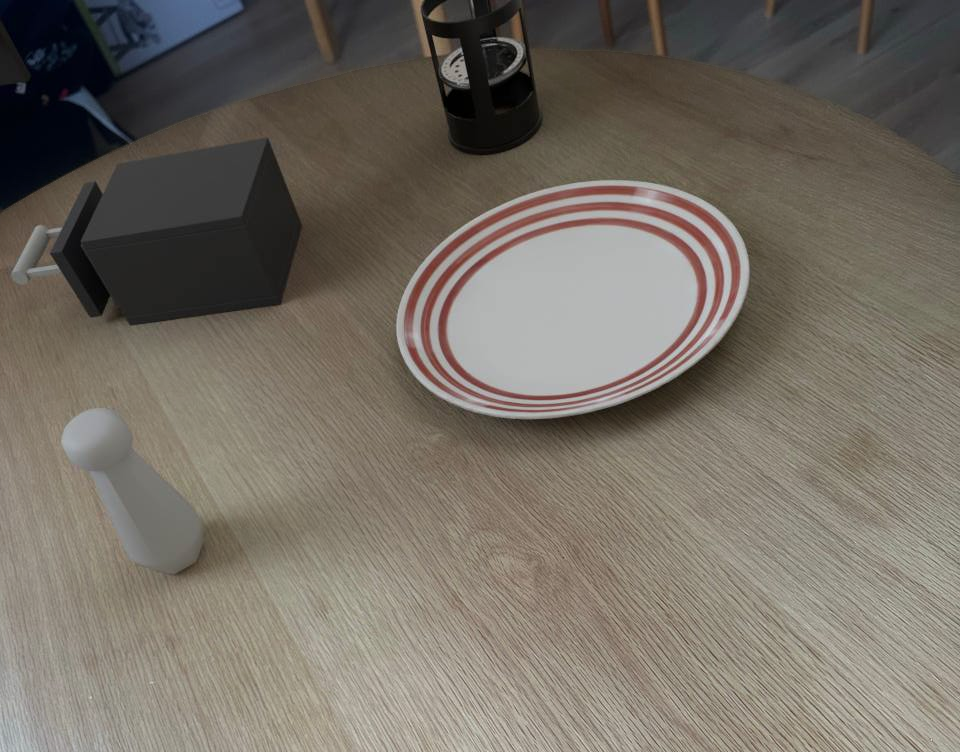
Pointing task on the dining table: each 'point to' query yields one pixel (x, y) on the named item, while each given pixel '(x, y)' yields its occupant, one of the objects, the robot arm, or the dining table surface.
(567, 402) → the dinner plate
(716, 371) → the dining table surface
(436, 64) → the french press
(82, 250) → the dark pull-out drawer box
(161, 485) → the salt shaker
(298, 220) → the drawer casing
